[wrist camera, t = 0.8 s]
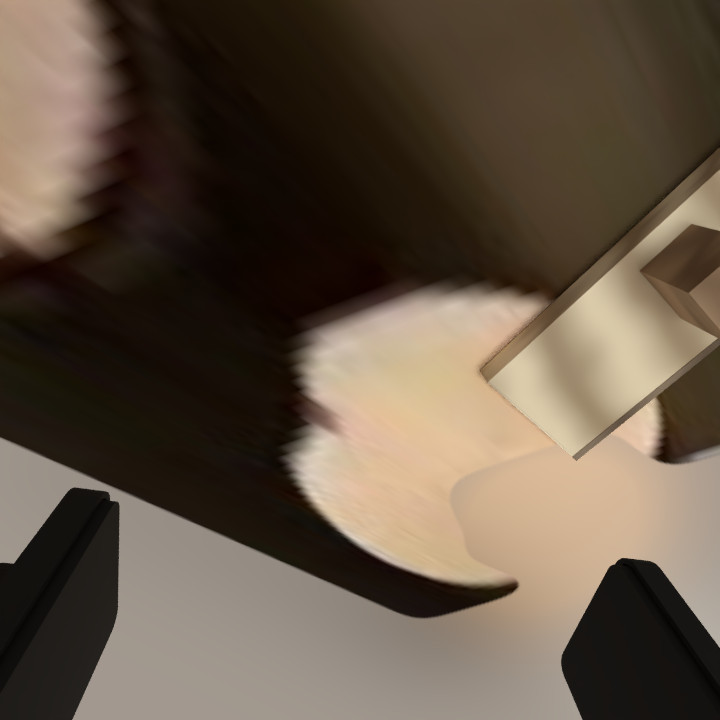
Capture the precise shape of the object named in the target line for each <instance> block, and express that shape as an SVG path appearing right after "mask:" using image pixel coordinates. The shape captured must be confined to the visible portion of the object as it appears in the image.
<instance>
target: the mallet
mask: <svg viewBox="0 0 720 720" xmlns="http://www.w3.org/2000/svg"><path fill="white" fill-rule="evenodd" d="M640 272H641V274H642V275H643V276H644V277H645V278H646V279H647V280H648V282H649V283H650V284H651V285H652V286H653V287H654V288H655V289H656V291H657V292H658V293H659V294H660V295H661V296H662V297H663V299H664V300H665V301H666V302H667V303H668V304H669V305H670V307H671V308H672V309H673V310H674V311H675V312H676V313H677V314H678V316H679V317H680V318H681V319H683V320H685V321H686V322H688V323H690V324H692V325H694V326H696V327H698V328H700V329H701V330H703V331H705V332H707V333H709V334H711V335H713V336H715V337H717V338H718V339H720V231H718V230H714V229H710V228H706V227H702V226H698V225H694V224H691V225H690V226H689V227H687V228H686V229H685V230H684V231H683V232H682V233H681V234H680V235H679V236H677V237H676V238H675V239H674V240H673V241H672V242H671V243H670V244H669V245H667V246H666V247H665V248H664V249H663V250H662V251H661V252H660V253H659V254H657V255H656V256H655V257H654V258H653V259H652V260H651V261H650V262H649V263H647V264H646V265H645V266H644V267H643V268H642V269H641V270H640Z"/></svg>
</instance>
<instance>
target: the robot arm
mask: <svg viewBox="0 0 720 720" xmlns="http://www.w3.org/2000/svg"><path fill="white" fill-rule="evenodd" d="M118 559H119V503H118V502H115V501H110V495H109V493H108V492H105V491H96V490H89V489H81V488H72V489H70V490H69V491H68V492H67V494H66V495H65V496H64V497H63V499H62V500H61V501H60V503H59V504H58V506H57V507H56V508H55V510H54V511H53V512H52V513H51V515H50V516H49V517H48V519H47V520H46V522H45V523H44V524H43V526H42V527H41V528H40V529H39V531H38V532H37V534H36V535H35V536H34V538H33V539H32V540H31V542H30V543H29V544H28V546H27V547H26V548H25V550H24V551H23V552H22V554H21V555H20V556H19V558H18V559H17V560H16V562H15V563H14V564H10V563H0V720H72V719H73V717H74V715H75V712H76V710H77V708H78V705H79V703H80V701H81V699H82V697H83V694H84V692H85V690H86V688H87V686H88V683H89V681H90V679H91V677H92V674H93V672H94V670H95V668H96V665H97V663H98V661H99V659H100V656H101V654H102V652H103V650H104V648H105V645H106V643H107V641H108V639H109V637H110V634H111V632H112V629H113V627H114V624H115V620H116V615H117V610H118V565H119V564H118V561H119V560H118ZM561 666H562V671H563V674H564V677H565V679H566V682H567V684H568V686H569V689H570V691H571V693H572V696H573V698H574V701H575V703H576V705H577V708H578V710H579V712H580V715H581V717H582V719H583V720H720V648H719V647H718V645H717V644H716V642H715V641H714V640H713V638H712V637H711V636H710V634H709V633H708V632H707V630H706V629H705V628H704V626H703V625H702V624H701V622H700V621H699V620H698V618H697V617H696V616H695V614H694V613H693V611H692V610H691V609H690V608H689V606H688V605H687V604H686V602H685V601H684V599H683V598H682V597H681V595H680V594H679V593H678V591H677V590H676V589H675V587H674V586H673V585H672V583H671V582H670V581H669V579H668V578H667V577H666V575H665V574H664V573H663V571H662V570H661V569H660V568H659V567H658V566H657V565H656V564H655V563H653V562H651V561H644V560H636V559H628V558H621V559H620V560H618V561H617V562H616V564H615V565H612V566H610V567H609V569H608V570H607V572H606V574H605V576H604V578H603V580H602V581H601V583H600V585H599V587H598V589H597V591H596V593H595V594H594V596H593V598H592V600H591V602H590V604H589V606H588V608H587V609H586V611H585V613H584V615H583V617H582V619H581V621H580V622H579V624H578V626H577V628H576V630H575V632H574V633H573V635H572V637H571V639H570V641H569V643H568V645H567V646H566V648H565V650H564V652H563V654H562V659H561Z"/></svg>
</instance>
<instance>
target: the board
mask: <svg viewBox="0 0 720 720" xmlns="http://www.w3.org/2000/svg"><path fill="white" fill-rule="evenodd" d="M691 224H694V225H698V226H702V227H706V228H710V229H714V230H718V231H720V147H719V148H718V149H717V150H716V151H715V152H714V153H713V154H712V155H711V156H710V157H709V158H708V159H706V160H705V161H704V162H703V163H702V164H701V165H700V166H699V167H698V168H697V169H696V170H695V171H694V172H692V173H691V174H690V175H689V176H688V177H687V178H686V179H685V180H684V181H683V182H682V183H681V184H680V185H679V186H677V187H676V188H675V189H674V190H673V191H672V192H671V193H670V194H669V195H668V196H667V197H666V198H665V199H664V200H662V201H661V202H660V203H659V204H658V205H657V206H656V207H655V208H654V209H653V210H652V211H651V212H650V213H649V214H647V215H646V216H645V217H644V218H643V219H642V220H641V221H640V222H639V223H638V224H637V225H636V226H635V227H633V228H632V229H631V230H630V231H629V232H628V233H627V234H626V235H625V236H624V237H623V238H622V239H621V240H620V241H618V242H617V243H616V244H615V245H614V246H613V247H612V248H611V249H610V250H609V251H608V252H607V253H606V254H605V255H603V256H602V257H601V258H600V259H599V260H598V261H597V262H596V263H595V264H594V265H593V266H592V267H591V268H589V269H588V270H587V271H586V272H585V273H584V274H583V275H582V276H581V277H580V278H579V279H578V280H577V281H576V282H574V283H573V284H572V285H571V286H570V287H569V288H568V289H567V290H566V291H565V292H564V293H563V294H562V295H561V296H559V297H558V298H557V299H556V300H555V301H554V302H553V303H552V304H551V305H550V306H549V307H548V308H547V309H546V310H544V311H543V312H542V313H541V314H540V315H539V316H538V317H537V318H536V319H535V320H534V321H533V322H532V323H530V324H529V325H528V326H527V327H526V328H525V329H524V330H523V331H522V332H521V333H520V334H519V335H518V336H517V337H515V338H514V339H513V340H512V341H511V342H510V343H509V344H508V345H507V346H506V347H505V348H504V349H503V350H502V351H500V352H499V353H498V354H497V355H496V356H495V357H494V358H493V359H492V360H491V361H490V362H489V363H488V364H487V365H485V366H484V367H483V368H482V369H481V370H480V371H481V373H482V375H483V376H484V378H485V379H486V381H487V383H488V384H490V385H491V386H492V387H493V388H494V389H495V390H496V391H498V392H499V393H500V394H501V395H502V396H503V397H504V398H506V399H507V400H508V401H509V402H510V403H511V404H512V405H514V406H515V407H516V408H517V409H518V410H519V411H520V412H522V413H523V414H524V415H525V416H526V417H527V418H528V419H530V420H531V421H532V422H533V423H534V424H535V425H536V426H538V427H539V428H540V429H541V430H542V431H543V432H544V433H546V434H547V435H548V436H549V437H550V438H551V439H552V440H554V441H555V442H556V443H557V444H558V445H559V446H560V447H562V448H563V449H564V450H565V451H566V452H567V453H568V454H569V455H571V456H572V457H573V458H574V459H575V460H576V461H577V460H578V459H579V458H580V457H582V456H583V455H584V454H585V453H587V452H588V451H589V450H590V449H592V448H593V447H594V446H595V445H596V444H598V443H599V442H600V441H601V440H603V439H604V438H605V437H606V436H608V435H609V434H610V433H611V432H613V431H614V430H615V429H616V428H618V427H619V426H620V425H621V424H623V423H624V422H625V421H626V420H628V419H629V418H630V417H631V416H633V415H634V414H635V413H636V412H637V411H639V410H640V409H641V408H642V407H644V406H645V405H646V404H647V403H649V402H650V401H651V400H652V399H654V398H655V397H656V396H657V395H659V394H660V393H661V392H662V391H664V390H665V389H666V388H667V387H668V386H670V385H671V384H672V383H673V382H675V381H676V380H677V379H678V378H680V377H681V376H682V375H683V374H685V373H686V372H687V371H688V370H690V369H691V368H692V367H693V366H695V365H696V364H697V363H698V362H699V361H701V360H702V359H703V358H704V357H706V356H707V355H708V354H709V353H711V352H712V351H713V350H714V349H716V348H717V347H718V346H719V345H720V339H718V338H717V337H715V336H713V335H711V334H709V333H707V332H705V331H703V330H701V329H700V328H698V327H696V326H694V325H692V324H690V323H688V322H686V321H685V320H683V319H681V318H680V317H679V316H678V314H677V313H676V312H675V311H674V310H673V309H672V308H671V307H670V305H669V304H668V303H667V302H666V301H665V300H664V299H663V297H662V296H661V295H660V294H659V293H658V292H657V291H656V289H655V288H654V287H653V286H652V285H651V284H650V283H649V282H648V280H647V279H646V278H645V277H644V276H643V275H642V274H641V272H640V270H641V269H642V268H643V267H644V266H645V265H646V264H647V263H649V262H650V261H651V260H652V259H653V258H654V257H655V256H656V255H657V254H659V253H660V252H661V251H662V250H663V249H664V248H665V247H666V246H667V245H669V244H670V243H671V242H672V241H673V240H674V239H675V238H676V237H677V236H679V235H680V234H681V233H682V232H683V231H684V230H685V229H686V228H687V227H689V226H690V225H691Z"/></svg>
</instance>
